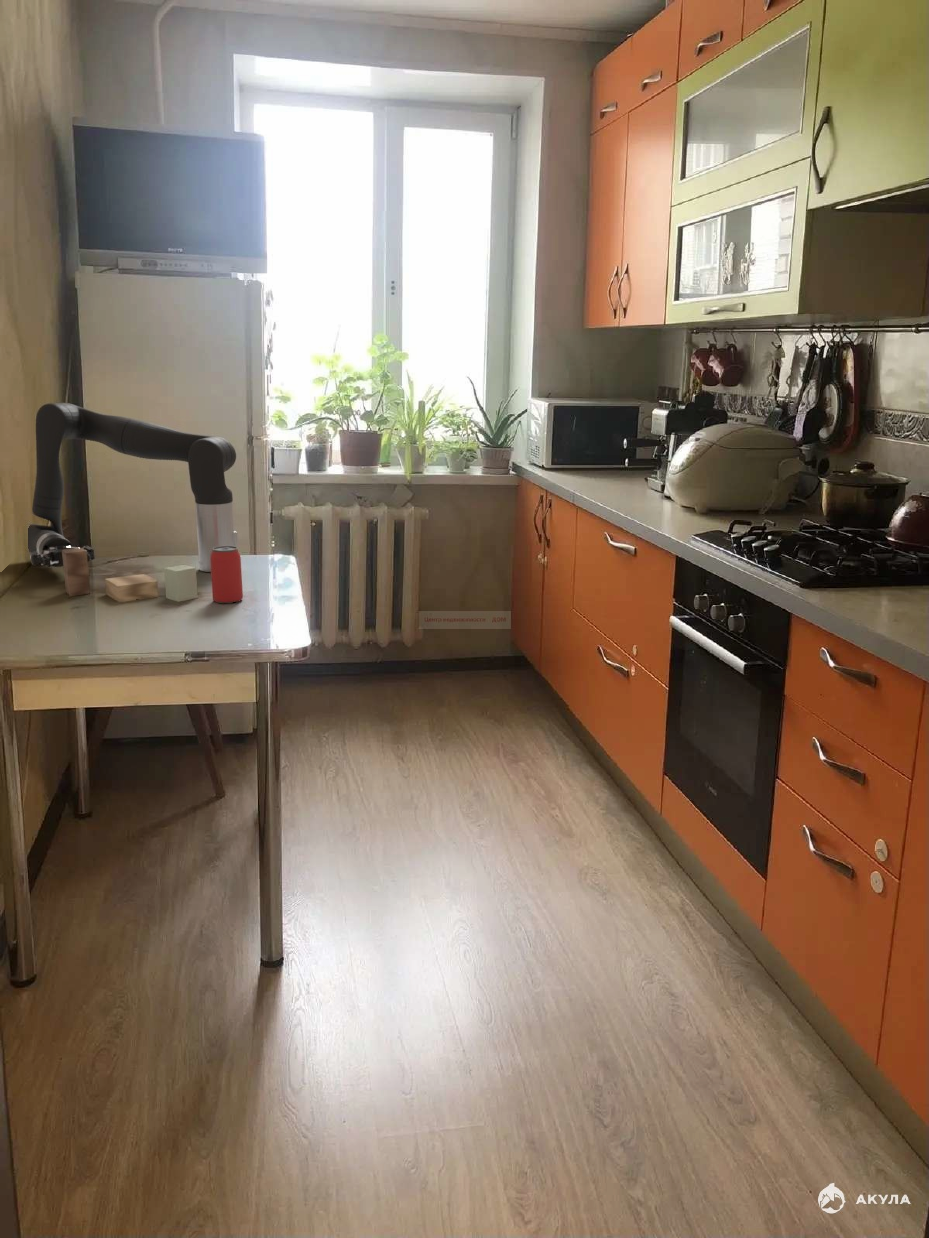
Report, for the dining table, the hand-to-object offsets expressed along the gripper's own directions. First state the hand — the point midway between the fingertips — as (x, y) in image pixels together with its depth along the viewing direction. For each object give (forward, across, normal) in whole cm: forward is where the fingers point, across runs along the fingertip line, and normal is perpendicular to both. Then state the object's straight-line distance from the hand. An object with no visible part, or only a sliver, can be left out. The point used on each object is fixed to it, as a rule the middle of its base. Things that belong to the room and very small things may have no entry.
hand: (68, 560), depth 237 cm
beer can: (+34, +27, +6) cm, 44 cm away
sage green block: (+26, +19, +6) cm, 32 cm away
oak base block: (+18, +10, +6) cm, 21 cm away
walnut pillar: (+9, 0, +6) cm, 10 cm away
